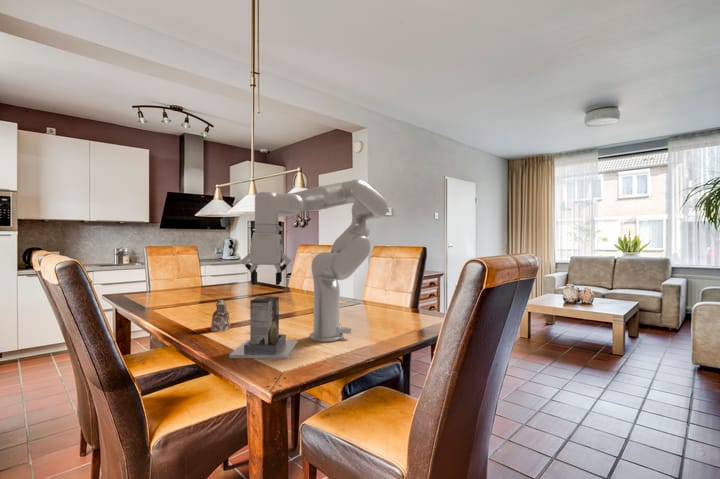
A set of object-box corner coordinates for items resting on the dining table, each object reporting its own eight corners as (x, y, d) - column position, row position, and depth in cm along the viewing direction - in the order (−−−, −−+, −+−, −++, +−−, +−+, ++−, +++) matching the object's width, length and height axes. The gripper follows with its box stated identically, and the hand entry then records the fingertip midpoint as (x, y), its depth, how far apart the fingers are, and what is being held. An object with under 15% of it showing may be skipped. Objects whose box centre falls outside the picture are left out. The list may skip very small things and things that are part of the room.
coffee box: (261, 342, 122) (261, 295, 122) (279, 343, 121) (279, 296, 121) (249, 351, 113) (249, 300, 113) (268, 352, 112) (268, 300, 112)
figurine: (212, 332, 139) (212, 301, 139) (209, 328, 145) (209, 299, 145) (231, 330, 142) (231, 300, 142) (227, 326, 148) (228, 297, 148)
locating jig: (298, 343, 125) (298, 333, 125) (287, 358, 109) (287, 347, 109) (247, 342, 125) (247, 332, 125) (229, 358, 109) (229, 346, 109)
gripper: (295, 230, 120) (295, 283, 120) (244, 230, 121) (244, 282, 121) (290, 230, 113) (290, 286, 113) (236, 229, 113) (235, 285, 113)
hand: (266, 283), depth 117 cm, fingers open, 7 cm apart
